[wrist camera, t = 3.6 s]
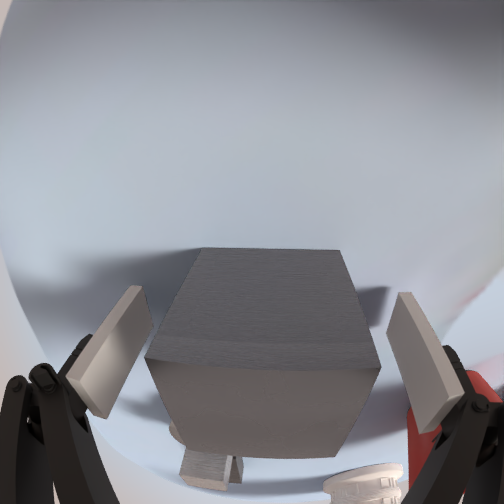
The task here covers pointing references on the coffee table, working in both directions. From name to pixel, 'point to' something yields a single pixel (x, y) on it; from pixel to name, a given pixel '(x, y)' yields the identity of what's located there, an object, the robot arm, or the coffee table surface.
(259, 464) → the coffee table surface
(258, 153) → the coffee table surface
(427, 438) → the flower pot
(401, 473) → the decorative container
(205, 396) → the grey wood-grain cube
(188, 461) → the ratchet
